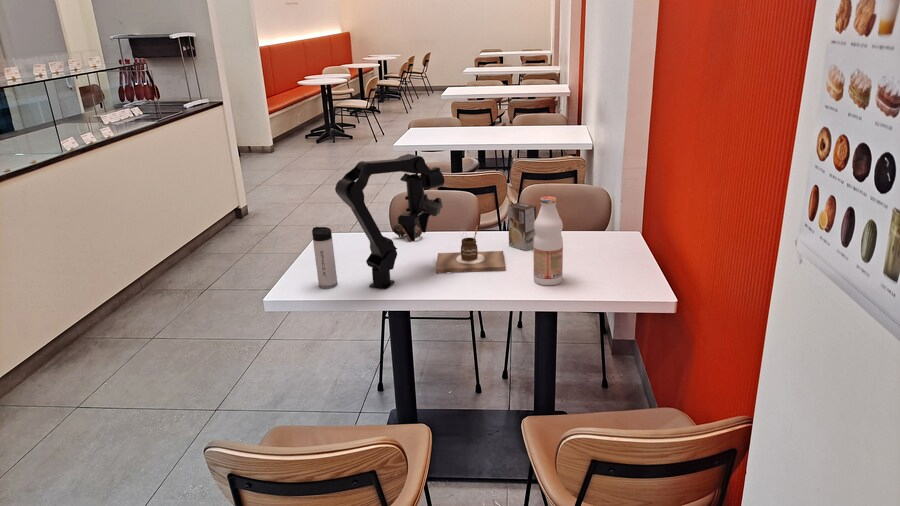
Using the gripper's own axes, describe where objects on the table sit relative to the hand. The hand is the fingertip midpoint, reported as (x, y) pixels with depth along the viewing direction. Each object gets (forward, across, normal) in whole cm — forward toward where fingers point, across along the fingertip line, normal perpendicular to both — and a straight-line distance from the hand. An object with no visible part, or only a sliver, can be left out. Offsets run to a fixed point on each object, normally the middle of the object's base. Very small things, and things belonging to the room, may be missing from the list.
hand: (418, 236), depth 217 cm
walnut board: (+13, +12, -14) cm, 23 cm away
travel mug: (+13, -19, +26) cm, 35 cm away
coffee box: (+13, +34, -27) cm, 45 cm away
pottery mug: (+13, +32, +20) cm, 40 cm away
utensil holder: (+11, +12, -14) cm, 21 cm away
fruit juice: (+13, +4, -44) cm, 46 cm away
